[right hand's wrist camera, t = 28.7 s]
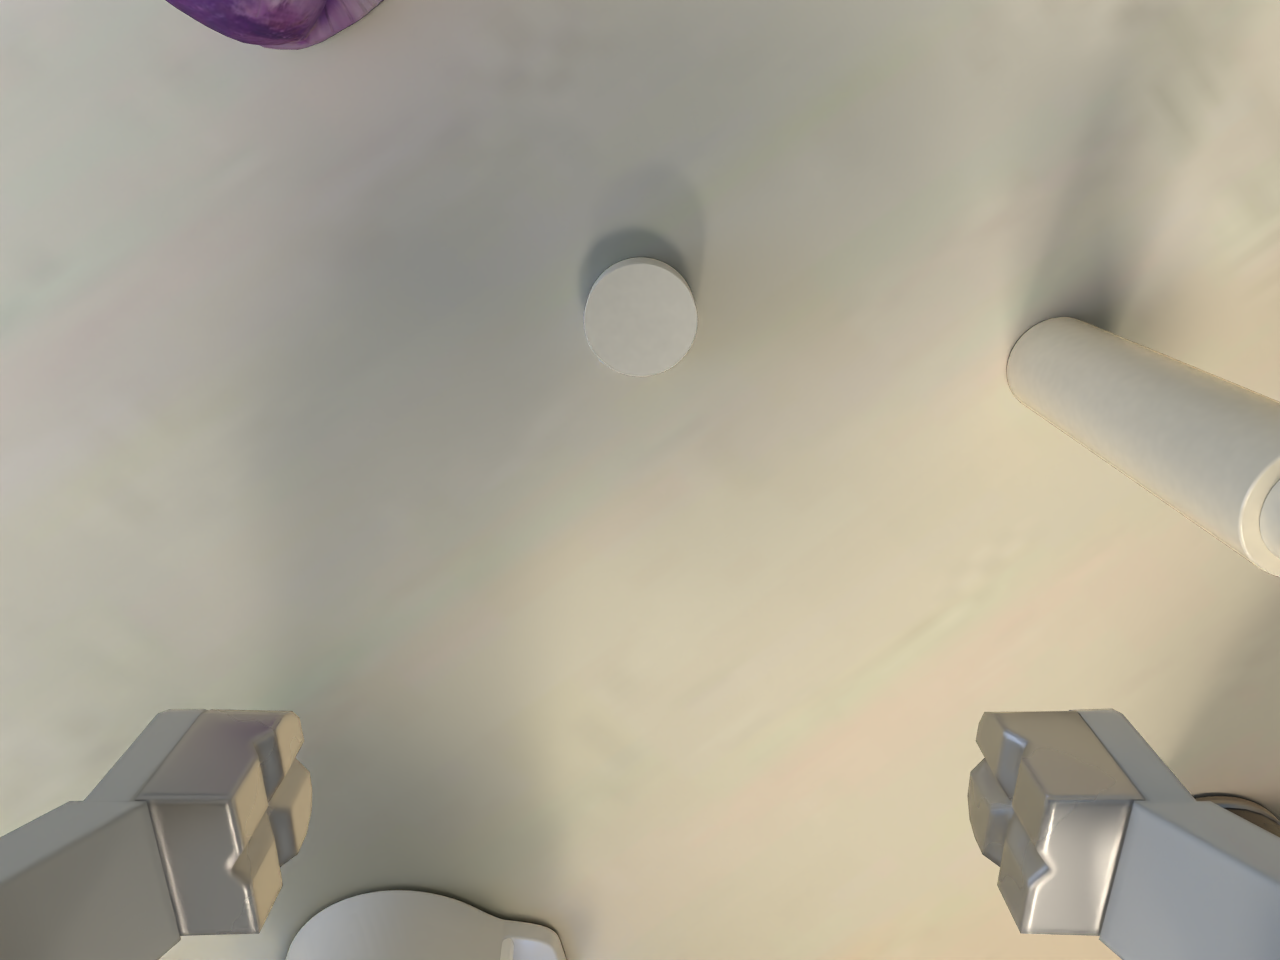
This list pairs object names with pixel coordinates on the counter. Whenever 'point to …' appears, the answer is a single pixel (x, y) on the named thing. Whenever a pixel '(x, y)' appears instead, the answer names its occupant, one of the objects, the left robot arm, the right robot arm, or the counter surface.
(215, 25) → the figurine
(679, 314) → the lid
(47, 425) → the counter surface
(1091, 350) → the cream cylinder
